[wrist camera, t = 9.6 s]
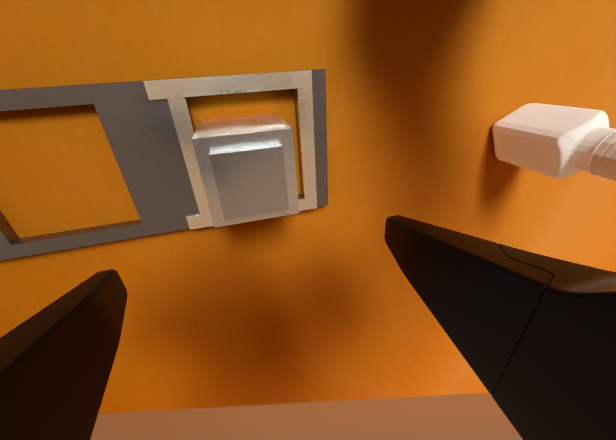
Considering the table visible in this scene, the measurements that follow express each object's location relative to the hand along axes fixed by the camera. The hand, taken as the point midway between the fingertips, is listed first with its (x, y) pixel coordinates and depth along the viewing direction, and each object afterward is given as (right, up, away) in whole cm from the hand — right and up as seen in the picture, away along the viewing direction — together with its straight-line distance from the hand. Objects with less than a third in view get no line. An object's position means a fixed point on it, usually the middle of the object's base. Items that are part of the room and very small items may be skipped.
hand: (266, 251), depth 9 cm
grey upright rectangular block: (-3, +6, +11) cm, 13 cm away
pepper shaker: (+20, +9, +16) cm, 27 cm away
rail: (-9, +5, +10) cm, 14 cm away
